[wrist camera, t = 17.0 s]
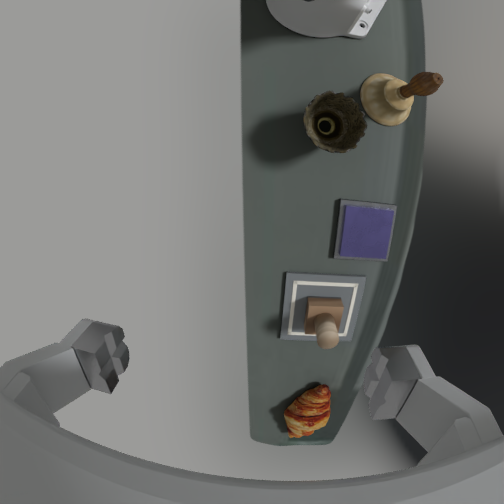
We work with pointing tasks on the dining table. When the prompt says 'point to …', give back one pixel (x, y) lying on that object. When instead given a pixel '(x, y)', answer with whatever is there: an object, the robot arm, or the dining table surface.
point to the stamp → (323, 319)
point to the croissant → (308, 412)
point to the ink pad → (364, 230)
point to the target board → (323, 286)
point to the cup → (334, 122)
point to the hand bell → (395, 95)
